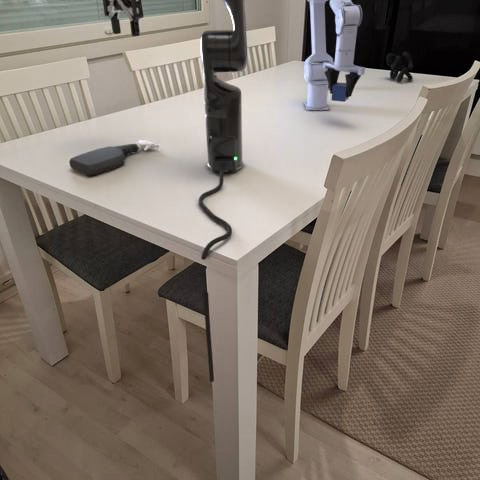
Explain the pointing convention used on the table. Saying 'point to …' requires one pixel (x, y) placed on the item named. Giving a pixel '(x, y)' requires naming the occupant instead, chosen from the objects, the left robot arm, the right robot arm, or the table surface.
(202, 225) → the table surface
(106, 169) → the spray bottle
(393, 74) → the squiggle
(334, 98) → the brick
